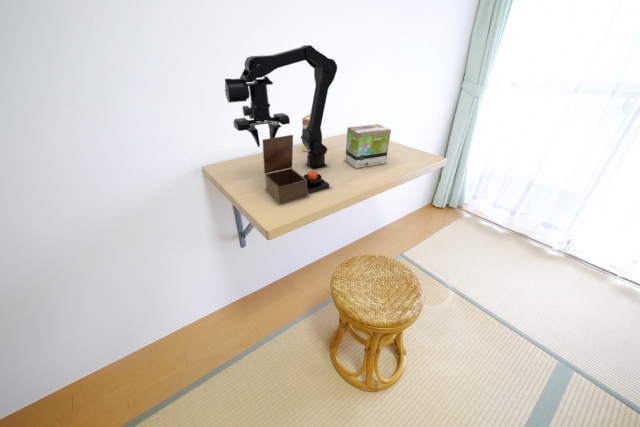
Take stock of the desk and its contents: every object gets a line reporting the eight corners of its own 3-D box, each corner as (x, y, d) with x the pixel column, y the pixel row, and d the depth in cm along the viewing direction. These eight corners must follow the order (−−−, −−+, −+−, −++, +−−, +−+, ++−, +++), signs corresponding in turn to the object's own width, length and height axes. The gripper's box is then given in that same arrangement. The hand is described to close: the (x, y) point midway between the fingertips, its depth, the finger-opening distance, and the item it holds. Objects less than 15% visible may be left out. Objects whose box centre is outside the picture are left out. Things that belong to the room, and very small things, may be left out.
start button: (305, 177, 93) (305, 172, 92) (314, 174, 95) (314, 170, 94) (310, 180, 91) (310, 176, 90) (319, 178, 92) (319, 173, 91)
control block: (296, 182, 96) (296, 174, 94) (315, 178, 100) (315, 169, 98) (309, 193, 89) (309, 184, 87) (329, 188, 92) (329, 179, 91)
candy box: (311, 152, 124) (310, 118, 115) (303, 151, 125) (301, 118, 117) (317, 146, 131) (316, 114, 123) (309, 145, 132) (308, 114, 124)
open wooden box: (307, 196, 87) (307, 180, 84) (279, 204, 83) (278, 187, 80) (292, 183, 96) (291, 168, 93) (266, 190, 92) (264, 174, 88)
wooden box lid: (293, 135, 84) (292, 134, 84) (263, 140, 80) (262, 139, 80) (292, 167, 92) (291, 166, 93) (264, 173, 88) (264, 172, 88)
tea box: (356, 169, 106) (359, 133, 98) (344, 161, 114) (346, 126, 106) (386, 163, 111) (391, 128, 103) (373, 156, 119) (377, 122, 111)
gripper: (276, 94, 97) (280, 136, 105) (225, 99, 89) (233, 143, 97) (288, 98, 89) (291, 143, 97) (234, 104, 81) (242, 152, 89)
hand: (265, 145), depth 95 cm, fingers open, 5 cm apart
